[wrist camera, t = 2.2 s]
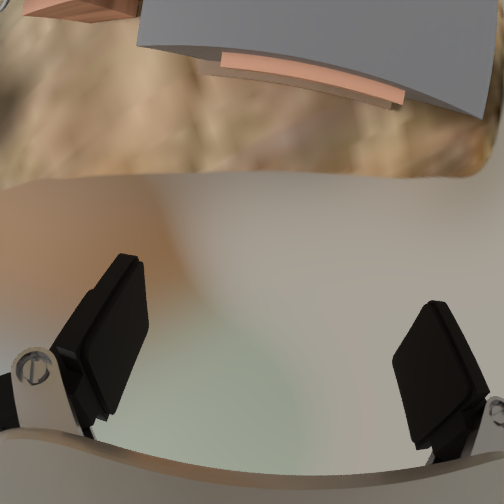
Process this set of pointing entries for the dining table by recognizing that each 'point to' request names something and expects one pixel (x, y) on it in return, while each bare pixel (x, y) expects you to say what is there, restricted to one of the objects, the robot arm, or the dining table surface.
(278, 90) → the dining table surface
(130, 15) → the terracotta block
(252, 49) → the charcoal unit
